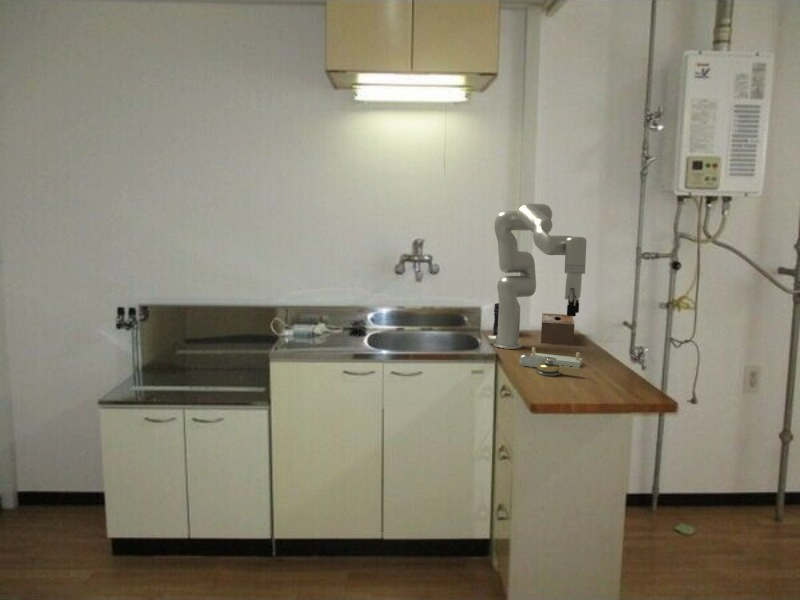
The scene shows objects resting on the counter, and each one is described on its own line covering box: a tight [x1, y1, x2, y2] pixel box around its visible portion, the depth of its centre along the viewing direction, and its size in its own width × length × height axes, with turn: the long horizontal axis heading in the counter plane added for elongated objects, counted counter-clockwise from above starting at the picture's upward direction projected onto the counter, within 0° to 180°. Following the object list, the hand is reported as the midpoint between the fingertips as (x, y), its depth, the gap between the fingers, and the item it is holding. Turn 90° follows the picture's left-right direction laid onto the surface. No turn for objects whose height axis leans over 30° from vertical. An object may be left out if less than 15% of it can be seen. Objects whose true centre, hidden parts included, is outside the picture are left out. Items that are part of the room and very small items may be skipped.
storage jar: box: [492, 302, 499, 336], centre depth 299 cm, size 10×10×15 cm
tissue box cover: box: [540, 313, 575, 346], centre depth 293 cm, size 26×14×10 cm, turn 167°
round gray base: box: [535, 368, 562, 377], centre depth 231 cm, size 9×9×1 cm
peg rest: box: [530, 347, 583, 368], centre depth 247 cm, size 20×8×5 cm, turn 67°
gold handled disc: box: [537, 360, 580, 375], centre depth 229 cm, size 15×8×3 cm, turn 67°
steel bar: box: [519, 353, 556, 368], centre depth 240 cm, size 4×14×4 cm, turn 67°
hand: (572, 314), depth 234 cm, fingers open, 9 cm apart
